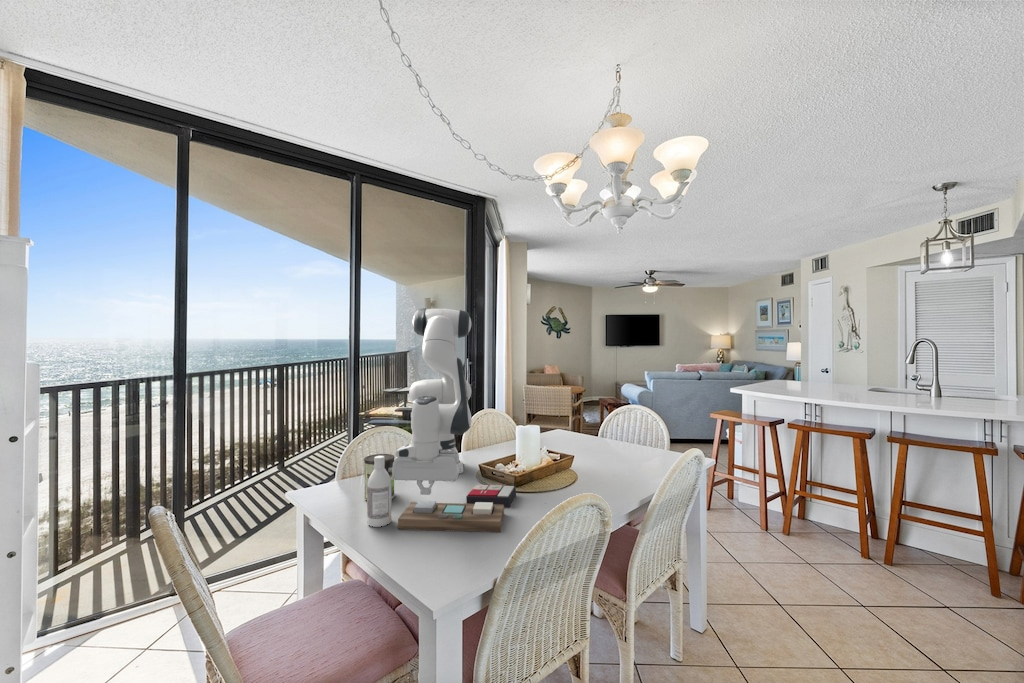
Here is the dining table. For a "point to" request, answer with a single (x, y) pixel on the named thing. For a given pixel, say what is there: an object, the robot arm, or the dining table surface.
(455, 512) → the teal key
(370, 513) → the bath foam
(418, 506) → the grey key
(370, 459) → the coffee can
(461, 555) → the dining table surface
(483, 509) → the cream key
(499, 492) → the red and black box
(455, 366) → the robot arm
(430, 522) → the keypad
